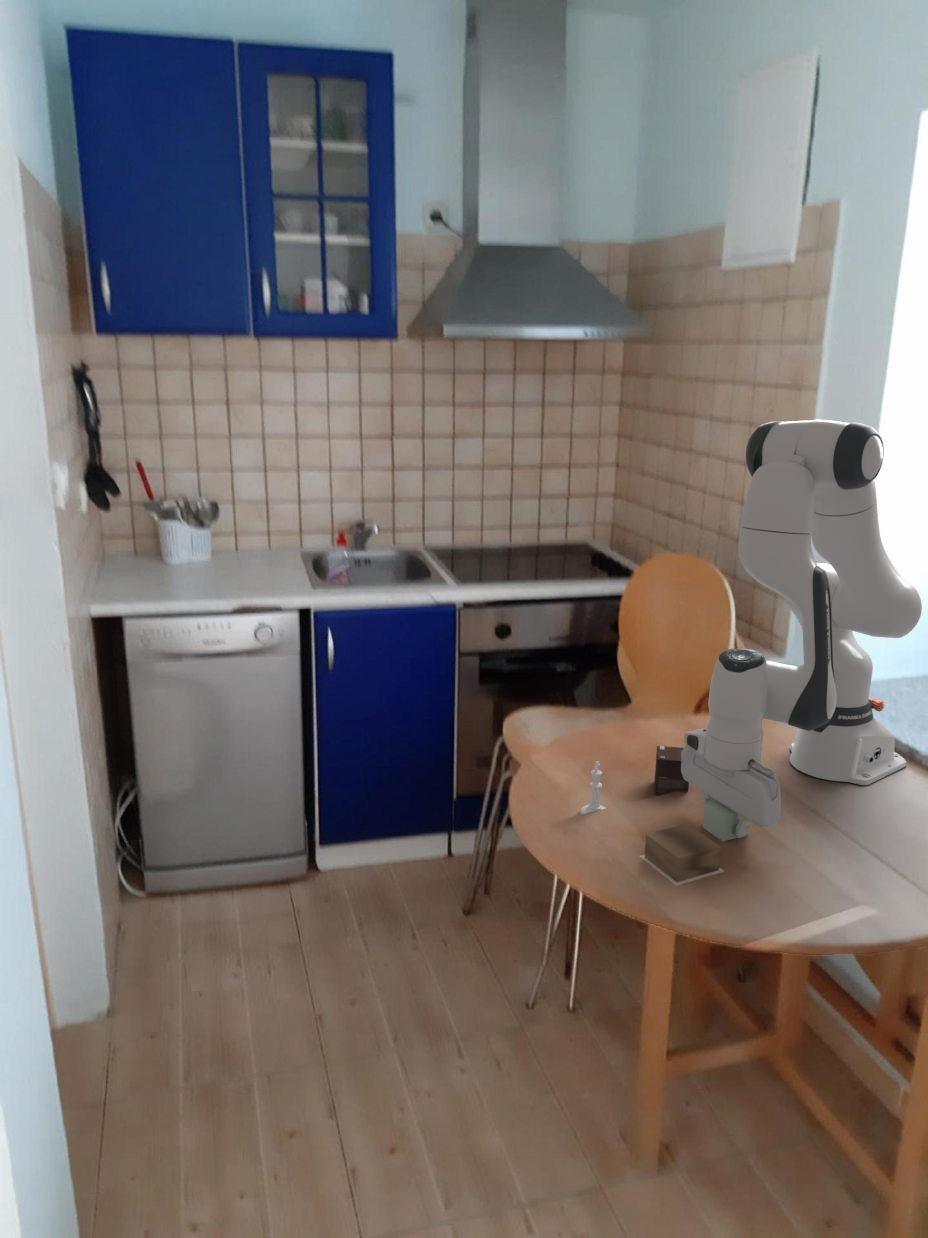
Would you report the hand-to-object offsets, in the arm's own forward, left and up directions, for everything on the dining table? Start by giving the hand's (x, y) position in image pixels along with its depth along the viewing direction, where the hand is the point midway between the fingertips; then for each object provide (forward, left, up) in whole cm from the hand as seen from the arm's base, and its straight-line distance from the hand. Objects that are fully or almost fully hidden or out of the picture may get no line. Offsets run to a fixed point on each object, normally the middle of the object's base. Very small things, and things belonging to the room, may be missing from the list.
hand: (725, 826), depth 156 cm
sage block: (0, 0, -2) cm, 2 cm away
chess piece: (+15, -16, -2) cm, 22 cm away
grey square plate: (+11, +5, -2) cm, 12 cm away
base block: (+13, +5, -1) cm, 14 cm away
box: (-3, -18, -2) cm, 18 cm away
